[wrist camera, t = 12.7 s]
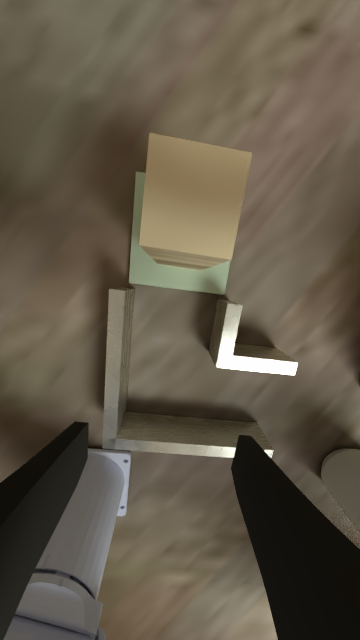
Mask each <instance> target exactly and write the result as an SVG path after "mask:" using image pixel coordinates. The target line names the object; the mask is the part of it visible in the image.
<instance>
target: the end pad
mask: <svg viewBox="0 0 360 640" xmlns="http://www.w3.org/2000/svg"><path fill="white" fill-rule="evenodd" d="M145 175H146V173H144V172H137V171H136V178H135V194H134V209H133V225H132V240H131V256H130V272H129V283H134V284H142V285H150V286H158V287H166V288H174V289H182V290H190V291H198V292H206V293H214V294H222V295H224V294H225V288H226V282H227V277H228V271H229V265H230V260H229V261H227V262H224V263H221V264H218V265H215V266H213V267H210V268H207V269H204V270H202V271H200V270H194V269H187V268H180V267H174V266H167V265H161V264H157V263H156V262H155V261H154V260H153V259H152V258H151V257H150V256H149V255H148V254H147V253H146V252H145V251H144V250H143V249H142V248H141V247H140V246H139V240H140V229H141V218H142V207H143V196H144V186H145Z"/></svg>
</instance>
